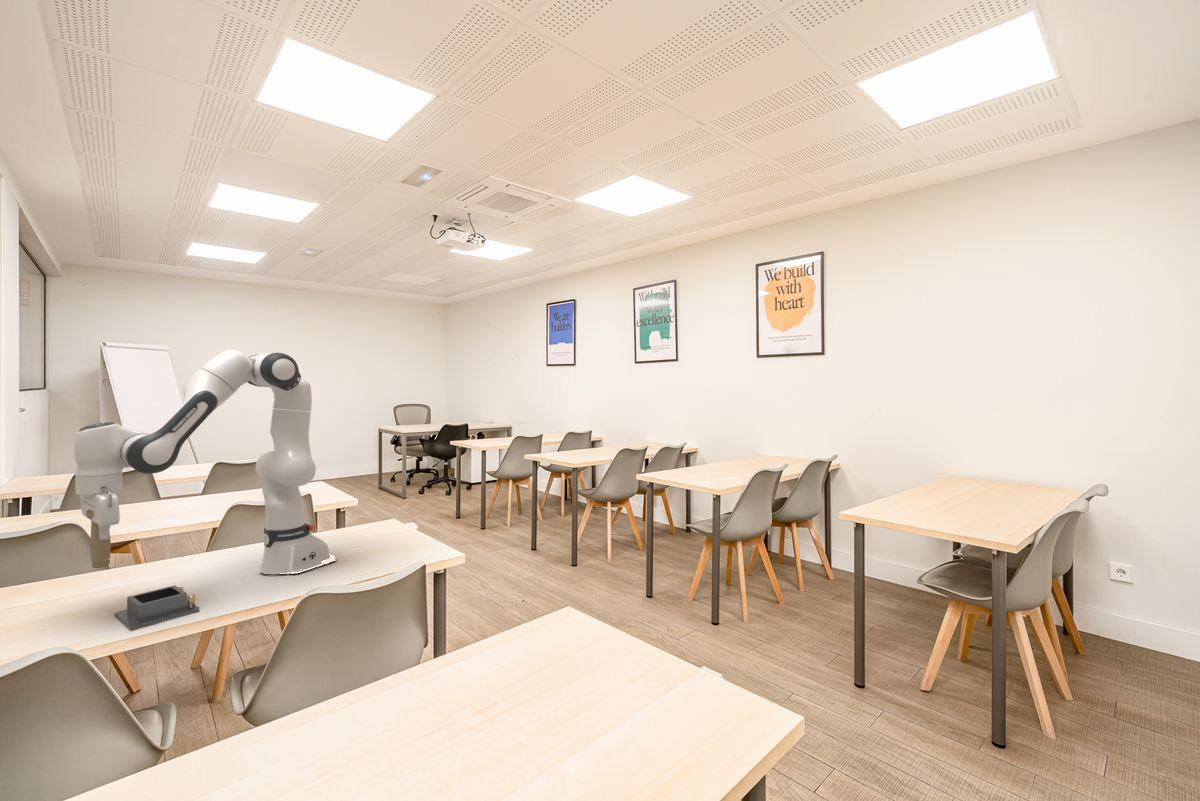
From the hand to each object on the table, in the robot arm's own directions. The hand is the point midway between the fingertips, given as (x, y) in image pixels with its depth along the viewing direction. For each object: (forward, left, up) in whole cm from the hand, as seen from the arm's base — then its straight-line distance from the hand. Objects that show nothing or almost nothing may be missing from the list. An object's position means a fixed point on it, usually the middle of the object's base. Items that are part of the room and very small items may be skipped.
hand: (101, 537), depth 135 cm
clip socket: (-9, +11, -20) cm, 25 cm away
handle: (0, 0, -8) cm, 8 cm away
